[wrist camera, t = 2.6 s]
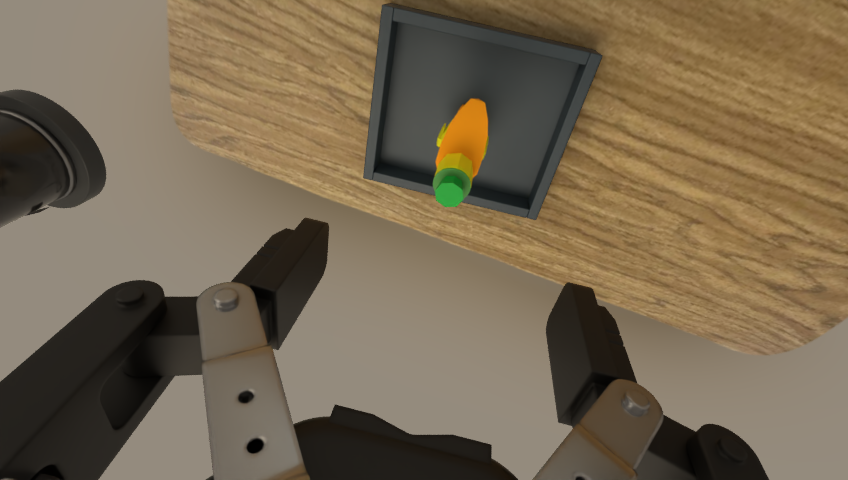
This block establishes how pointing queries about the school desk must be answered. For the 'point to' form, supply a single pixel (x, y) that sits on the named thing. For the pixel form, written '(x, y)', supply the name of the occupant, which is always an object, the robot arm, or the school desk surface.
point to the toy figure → (460, 152)
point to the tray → (480, 79)
